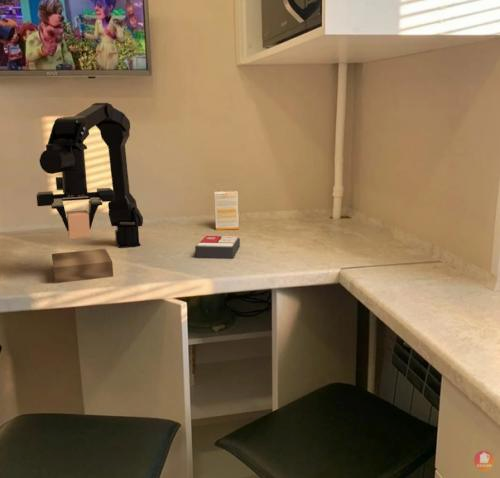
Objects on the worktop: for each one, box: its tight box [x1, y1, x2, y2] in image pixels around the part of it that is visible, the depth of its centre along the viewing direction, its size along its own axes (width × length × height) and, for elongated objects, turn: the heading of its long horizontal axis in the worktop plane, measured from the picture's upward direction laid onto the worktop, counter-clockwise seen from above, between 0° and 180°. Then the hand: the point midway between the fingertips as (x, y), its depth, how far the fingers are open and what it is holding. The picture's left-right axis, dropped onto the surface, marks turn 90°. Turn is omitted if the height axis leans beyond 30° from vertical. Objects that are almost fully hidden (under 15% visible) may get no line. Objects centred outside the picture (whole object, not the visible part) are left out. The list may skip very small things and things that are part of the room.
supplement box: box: [213, 190, 240, 231], centre depth 193 cm, size 8×5×13 cm, turn 93°
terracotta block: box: [66, 209, 91, 239], centre depth 142 cm, size 5×5×6 cm
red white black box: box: [194, 235, 241, 260], centre depth 163 cm, size 11×4×15 cm
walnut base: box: [51, 248, 114, 284], centre depth 144 cm, size 14×14×4 cm
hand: (78, 229), depth 142 cm, fingers closed on terracotta block, 5 cm apart
